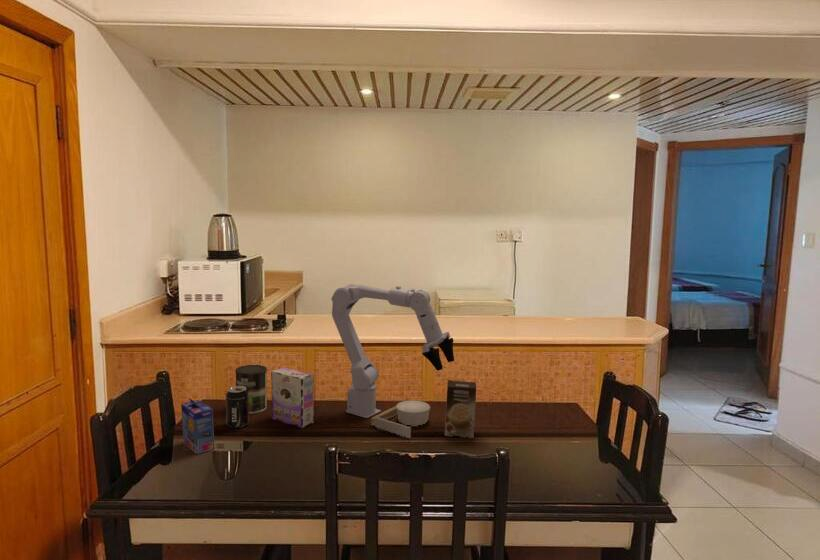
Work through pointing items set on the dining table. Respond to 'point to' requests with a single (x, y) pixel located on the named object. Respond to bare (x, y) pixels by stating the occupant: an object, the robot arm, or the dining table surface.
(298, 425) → the candy box
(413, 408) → the ramekin
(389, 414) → the oak rail
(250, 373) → the coffee can
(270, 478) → the dining table surface
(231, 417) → the beverage can
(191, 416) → the ink cartridge box
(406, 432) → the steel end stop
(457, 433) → the coffee box
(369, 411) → the robot arm
